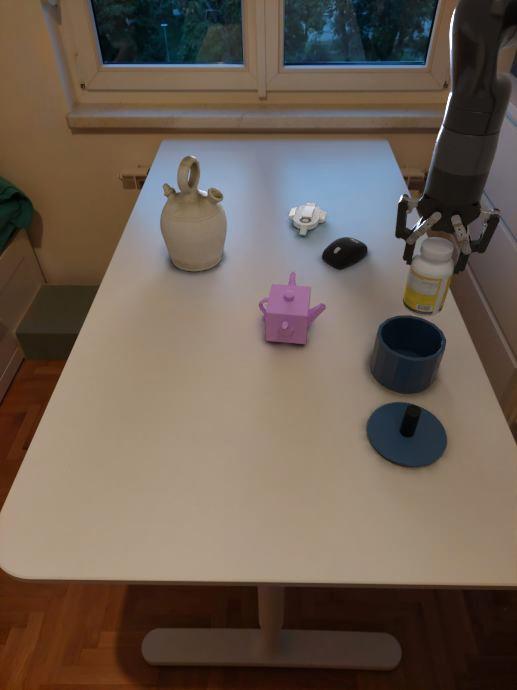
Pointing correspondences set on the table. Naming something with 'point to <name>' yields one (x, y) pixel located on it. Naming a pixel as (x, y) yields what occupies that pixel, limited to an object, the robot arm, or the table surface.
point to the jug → (193, 221)
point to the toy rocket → (307, 217)
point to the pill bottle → (429, 277)
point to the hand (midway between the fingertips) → (432, 266)
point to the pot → (407, 353)
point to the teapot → (289, 312)
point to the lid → (407, 434)
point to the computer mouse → (344, 252)
